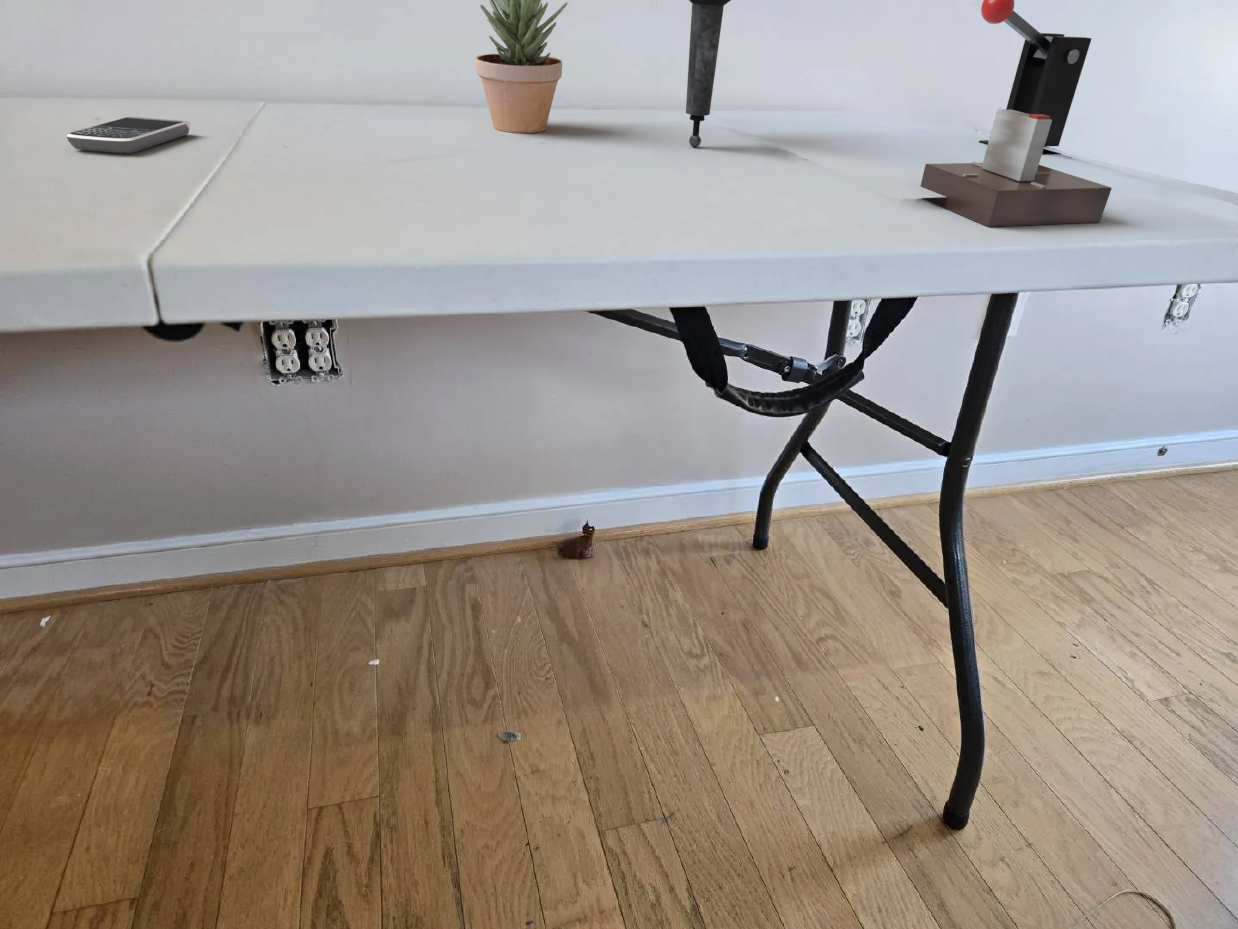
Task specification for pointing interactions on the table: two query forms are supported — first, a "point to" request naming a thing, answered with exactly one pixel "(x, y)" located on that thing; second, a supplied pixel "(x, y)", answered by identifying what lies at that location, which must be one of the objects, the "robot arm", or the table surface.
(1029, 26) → the switch lever
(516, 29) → the potted plant
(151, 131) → the cell phone
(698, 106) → the dark grey tapered rod
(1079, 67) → the bracket
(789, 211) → the table surface
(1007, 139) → the grey block
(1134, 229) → the table surface
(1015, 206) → the brown flat block
